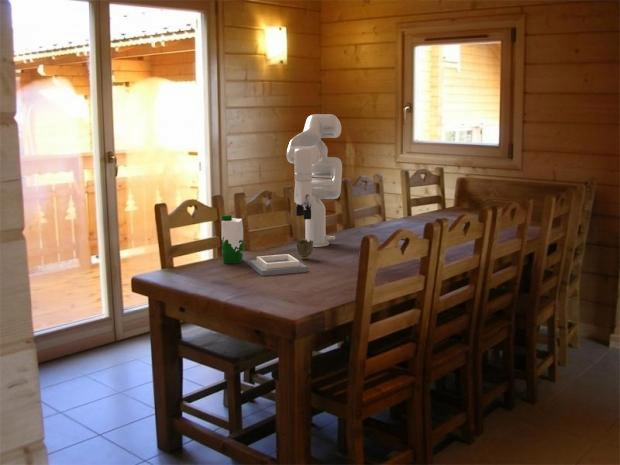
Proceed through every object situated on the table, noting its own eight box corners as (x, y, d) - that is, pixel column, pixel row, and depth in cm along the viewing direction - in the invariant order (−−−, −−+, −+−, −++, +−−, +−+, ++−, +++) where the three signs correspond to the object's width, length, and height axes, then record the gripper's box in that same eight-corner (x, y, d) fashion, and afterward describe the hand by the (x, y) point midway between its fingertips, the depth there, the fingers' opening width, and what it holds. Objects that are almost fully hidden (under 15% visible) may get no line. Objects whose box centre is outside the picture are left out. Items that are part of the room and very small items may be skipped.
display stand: (292, 261, 307) (292, 252, 306) (307, 271, 289) (307, 261, 289) (249, 265, 301) (248, 255, 300) (261, 275, 283) (261, 265, 282)
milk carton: (223, 259, 312) (222, 213, 309) (244, 259, 312) (243, 213, 308) (221, 263, 304) (219, 216, 300) (242, 263, 304) (241, 216, 300)
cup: (293, 260, 310) (292, 241, 309) (301, 256, 316) (301, 238, 315) (308, 261, 307) (308, 243, 305) (316, 258, 313) (316, 240, 312)
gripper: (288, 175, 311) (289, 214, 315) (301, 180, 295) (301, 221, 299) (305, 174, 314) (305, 213, 317) (318, 179, 298) (318, 220, 301)
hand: (303, 217), depth 308 cm, fingers open, 9 cm apart
